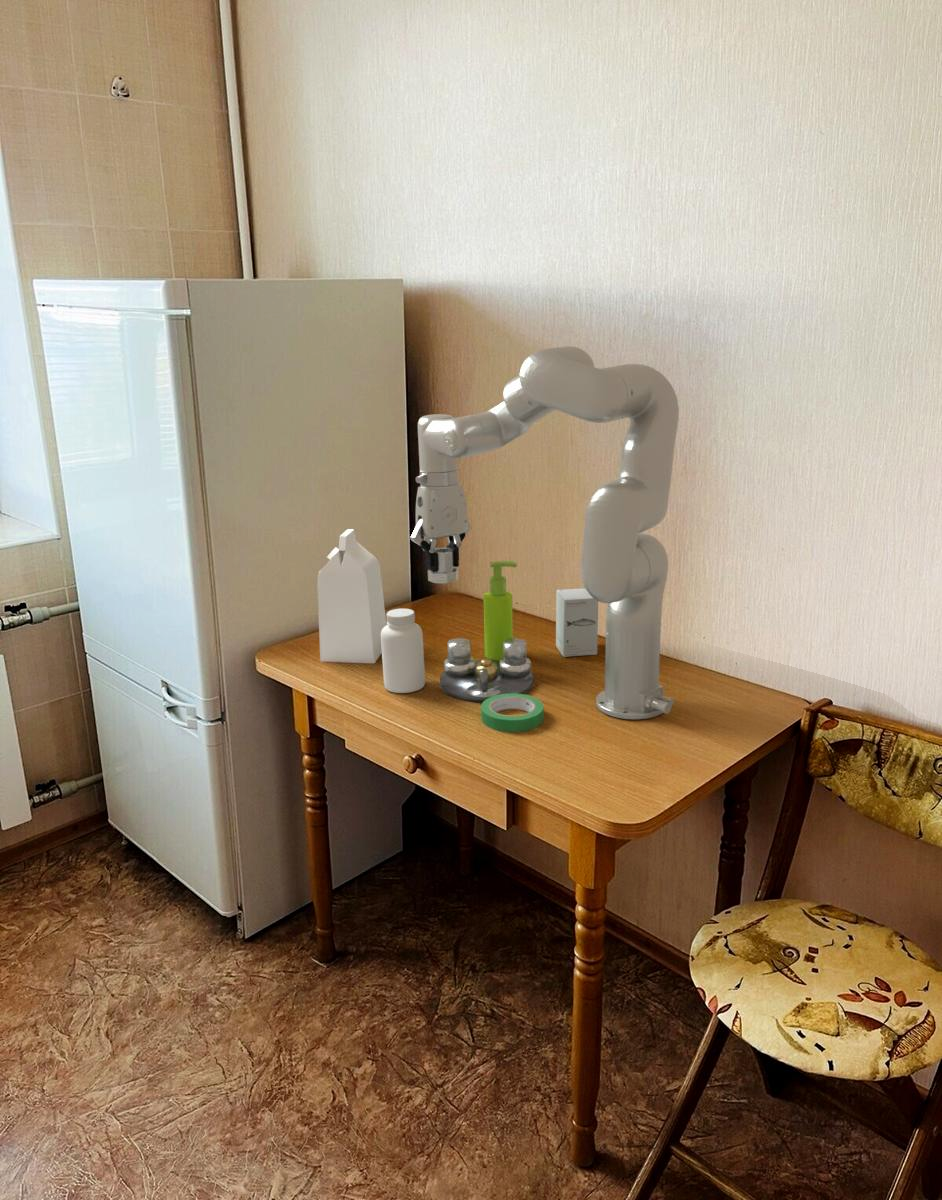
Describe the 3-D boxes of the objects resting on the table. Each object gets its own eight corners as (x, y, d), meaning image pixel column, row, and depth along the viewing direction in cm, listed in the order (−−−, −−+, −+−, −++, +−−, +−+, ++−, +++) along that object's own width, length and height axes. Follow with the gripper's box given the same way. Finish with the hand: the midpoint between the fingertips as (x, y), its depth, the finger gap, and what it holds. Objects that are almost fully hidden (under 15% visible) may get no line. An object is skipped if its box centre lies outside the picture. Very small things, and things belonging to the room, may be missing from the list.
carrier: (552, 683, 183) (552, 648, 181) (481, 710, 172) (480, 673, 170) (490, 658, 196) (489, 625, 194) (420, 682, 185) (419, 647, 183)
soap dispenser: (518, 659, 195) (517, 566, 189) (484, 660, 195) (482, 566, 189) (517, 649, 201) (516, 558, 194) (484, 650, 201) (482, 558, 195)
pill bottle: (399, 675, 189) (395, 603, 184) (433, 682, 185) (430, 609, 180) (375, 689, 182) (370, 615, 178) (410, 697, 178) (406, 622, 174)
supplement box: (563, 658, 195) (563, 599, 191) (555, 645, 202) (555, 588, 198) (598, 655, 196) (599, 597, 192) (589, 643, 203) (590, 586, 199)
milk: (374, 663, 195) (366, 540, 187) (320, 661, 197) (310, 539, 189) (388, 642, 207) (381, 525, 199) (337, 641, 208) (328, 525, 200)
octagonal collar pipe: (463, 579, 193) (462, 550, 191) (440, 585, 190) (438, 555, 188) (446, 573, 197) (445, 545, 196) (423, 578, 194) (422, 550, 192)
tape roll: (549, 730, 164) (549, 716, 164) (486, 735, 163) (486, 721, 162) (536, 704, 175) (536, 690, 174) (477, 709, 173) (476, 695, 173)
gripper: (414, 487, 180) (419, 580, 185) (484, 475, 189) (487, 563, 195) (392, 482, 185) (397, 572, 191) (461, 470, 195) (464, 556, 201)
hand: (442, 567), depth 193 cm, fingers closed on octagonal collar pipe, 4 cm apart
